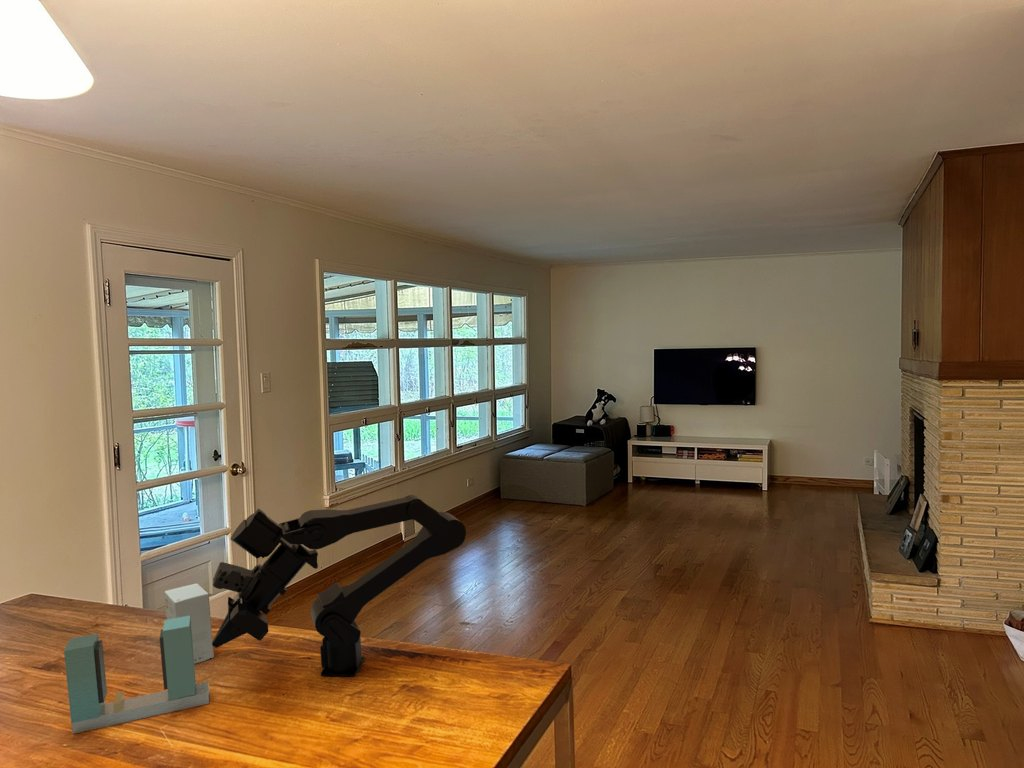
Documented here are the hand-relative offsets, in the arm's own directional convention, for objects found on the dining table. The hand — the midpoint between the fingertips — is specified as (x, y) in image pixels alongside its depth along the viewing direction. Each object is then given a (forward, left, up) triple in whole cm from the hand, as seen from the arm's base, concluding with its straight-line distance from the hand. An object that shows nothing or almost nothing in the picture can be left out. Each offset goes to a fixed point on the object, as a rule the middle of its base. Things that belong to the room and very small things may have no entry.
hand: (214, 645), depth 121 cm
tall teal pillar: (+5, +3, -7) cm, 9 cm away
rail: (+10, +5, -9) cm, 15 cm away
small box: (+13, -14, -9) cm, 21 cm away
